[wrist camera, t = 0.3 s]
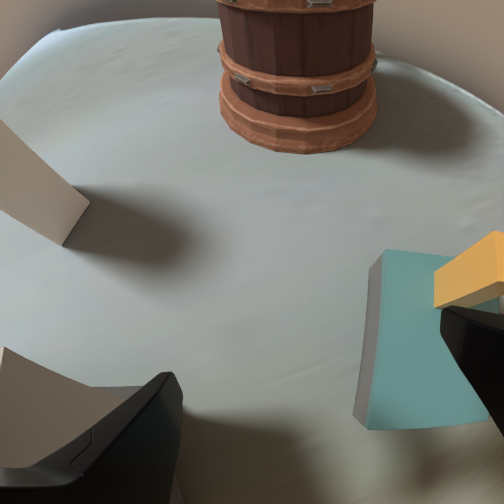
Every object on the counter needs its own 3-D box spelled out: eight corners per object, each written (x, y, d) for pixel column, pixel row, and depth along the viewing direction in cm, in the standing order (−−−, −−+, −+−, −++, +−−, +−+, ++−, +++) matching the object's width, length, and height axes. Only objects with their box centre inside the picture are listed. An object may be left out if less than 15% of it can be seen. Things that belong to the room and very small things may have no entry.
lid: (474, 416, 16) (552, 434, 7) (361, 423, 17) (409, 469, 8) (484, 269, 19) (556, 225, 10) (378, 258, 21) (428, 195, 12)
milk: (62, 247, 28) (-94, 143, 8) (39, 223, 30) (-90, 129, 9) (92, 201, 30) (-46, 70, 9) (66, 183, 31) (-50, 70, 11)
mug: (382, 54, 33) (399, -66, 14) (368, 175, 27) (423, -24, 8) (259, 33, 37) (240, -79, 18) (192, 137, 31) (121, -26, 12)
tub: (457, 411, 18) (481, 418, 15) (352, 415, 20) (364, 426, 16) (467, 278, 22) (490, 266, 18) (369, 268, 24) (382, 253, 20)
